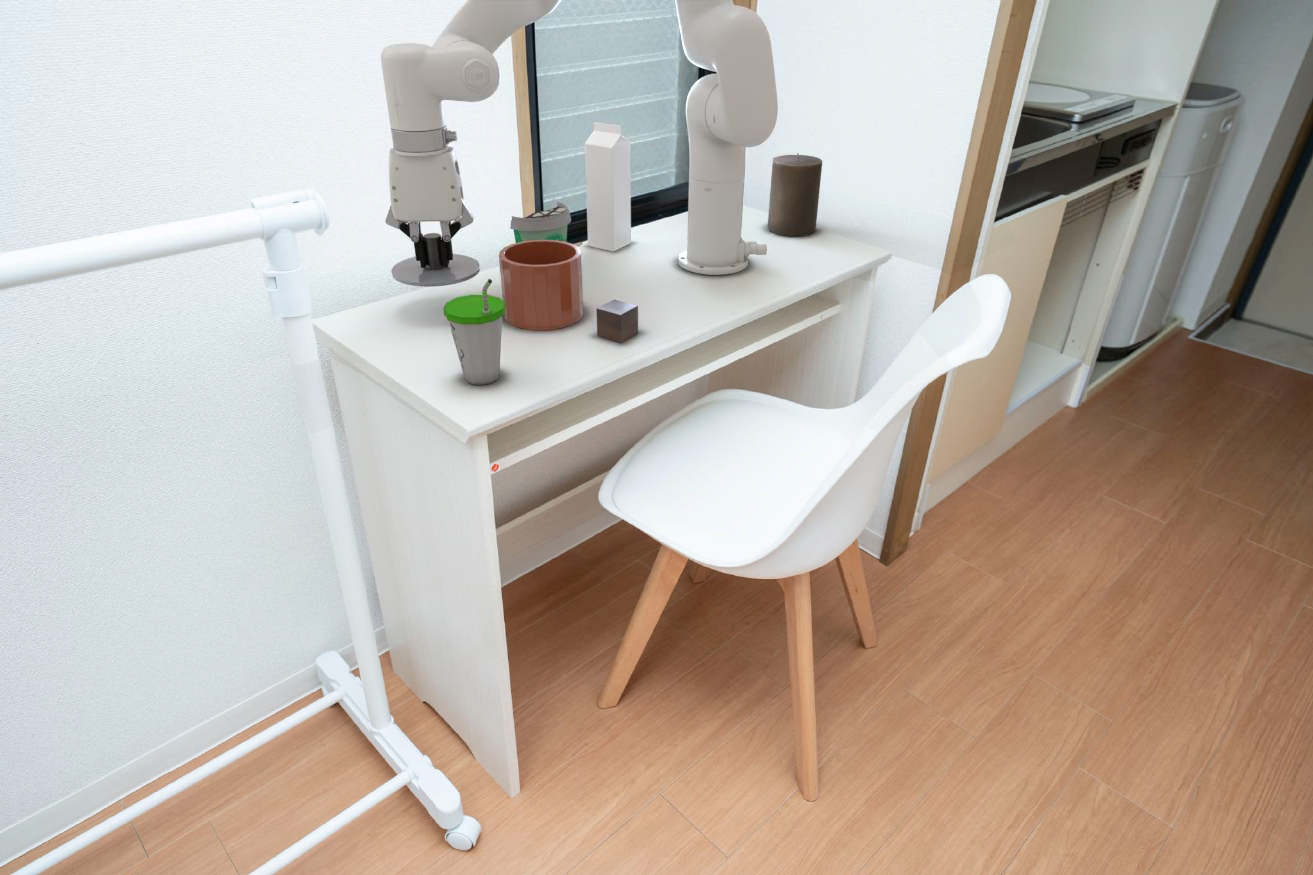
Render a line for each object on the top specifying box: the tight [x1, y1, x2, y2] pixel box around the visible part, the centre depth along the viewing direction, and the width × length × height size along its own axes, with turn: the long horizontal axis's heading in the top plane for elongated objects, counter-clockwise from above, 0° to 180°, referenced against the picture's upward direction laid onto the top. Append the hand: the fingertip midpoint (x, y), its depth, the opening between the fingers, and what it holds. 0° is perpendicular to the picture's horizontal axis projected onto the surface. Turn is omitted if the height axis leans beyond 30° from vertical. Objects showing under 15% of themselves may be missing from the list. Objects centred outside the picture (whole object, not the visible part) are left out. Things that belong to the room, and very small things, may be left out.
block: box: [596, 299, 639, 344], centre depth 125 cm, size 4×4×4 cm
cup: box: [442, 278, 506, 386], centre depth 110 cm, size 8×8×15 cm
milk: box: [584, 121, 632, 252], centre depth 156 cm, size 6×6×22 cm
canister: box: [498, 240, 584, 331], centre depth 130 cm, size 12×12×10 cm
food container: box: [509, 201, 572, 243], centre depth 148 cm, size 12×6×10 cm, turn 143°
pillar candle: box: [767, 152, 823, 237], centre depth 167 cm, size 10×10×15 cm
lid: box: [390, 232, 481, 288], centre depth 129 cm, size 13×13×6 cm
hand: (435, 263), depth 129 cm, fingers closed on lid, 2 cm apart
